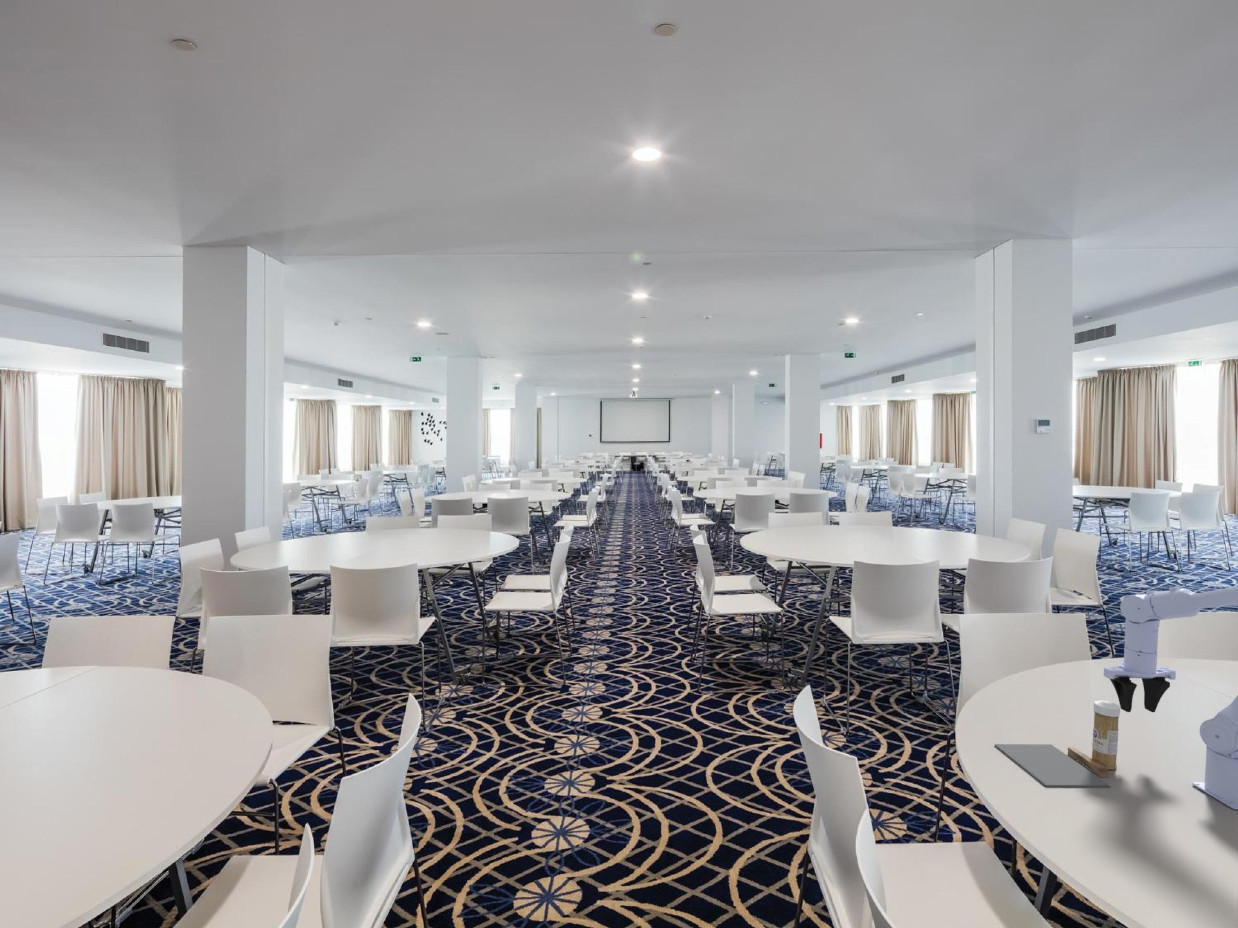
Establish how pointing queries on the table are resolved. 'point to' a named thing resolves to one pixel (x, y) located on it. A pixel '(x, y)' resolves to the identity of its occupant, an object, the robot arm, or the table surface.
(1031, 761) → the rubber mat
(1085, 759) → the walnut rail
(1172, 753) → the table surface
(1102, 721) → the sprinkles bottle
